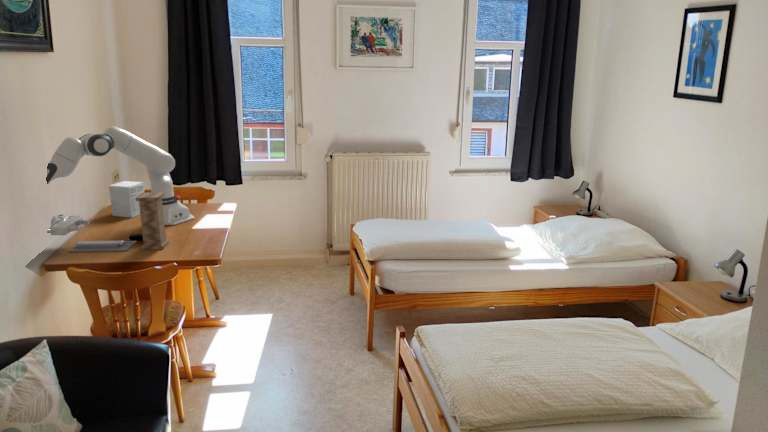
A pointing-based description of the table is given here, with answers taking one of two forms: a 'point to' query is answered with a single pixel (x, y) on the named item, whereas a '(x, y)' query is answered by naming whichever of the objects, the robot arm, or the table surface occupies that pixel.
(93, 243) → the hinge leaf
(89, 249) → the rubber mat
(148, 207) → the walnut stand
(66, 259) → the table surface
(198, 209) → the table surface
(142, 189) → the supplement box
